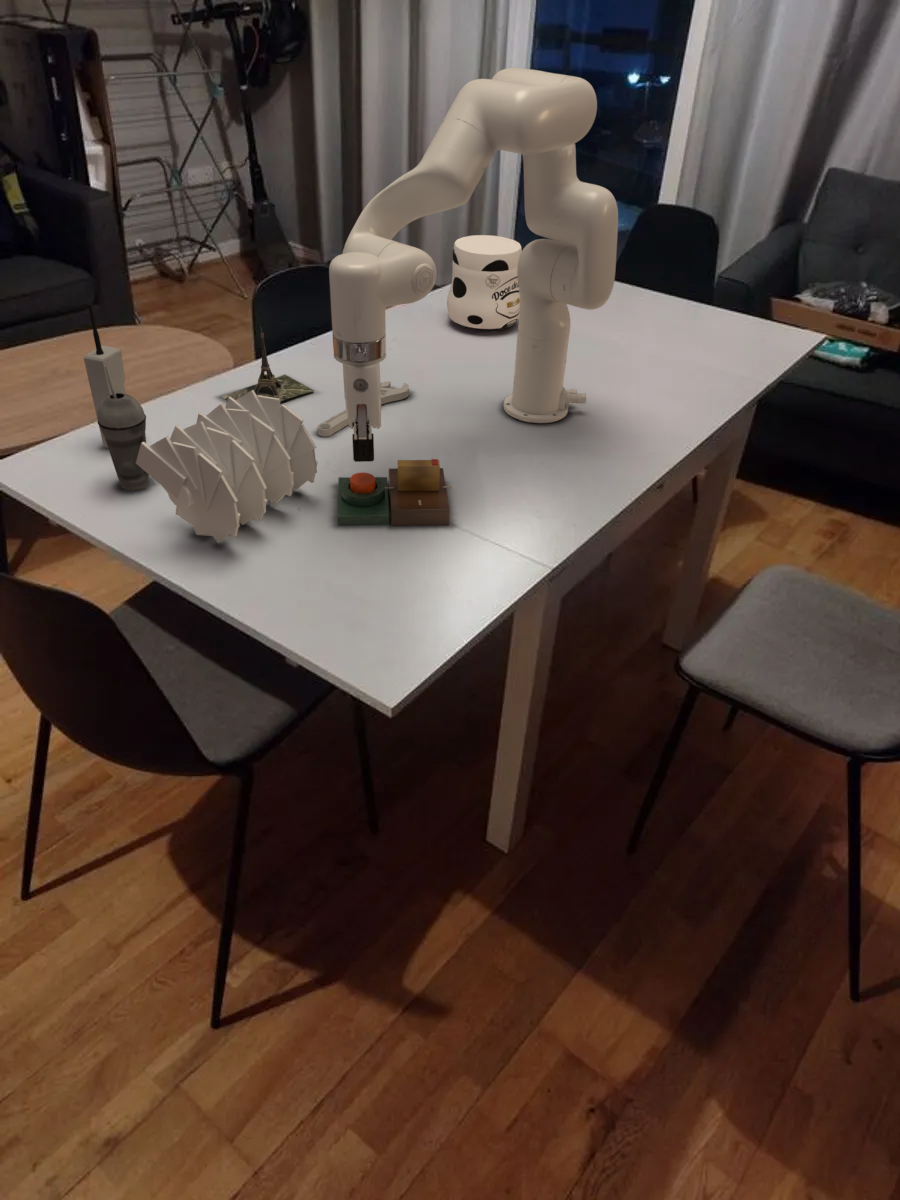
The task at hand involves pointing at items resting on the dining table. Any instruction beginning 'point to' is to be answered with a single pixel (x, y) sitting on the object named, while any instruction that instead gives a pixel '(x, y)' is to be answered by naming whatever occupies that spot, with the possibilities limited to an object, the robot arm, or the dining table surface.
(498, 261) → the milk container
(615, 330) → the dining table surface
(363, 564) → the dining table surface
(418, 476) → the yellow box red tab
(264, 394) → the eiffel tower figurine
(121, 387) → the vintage mobile phone
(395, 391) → the adjustable wrench
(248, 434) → the spiral staircase
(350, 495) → the button housing
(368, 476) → the button
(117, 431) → the beverage cup
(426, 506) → the control panel
